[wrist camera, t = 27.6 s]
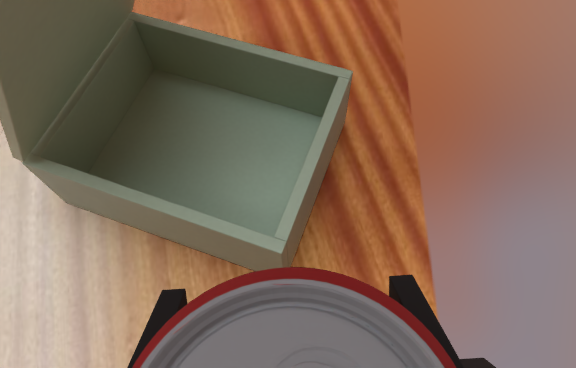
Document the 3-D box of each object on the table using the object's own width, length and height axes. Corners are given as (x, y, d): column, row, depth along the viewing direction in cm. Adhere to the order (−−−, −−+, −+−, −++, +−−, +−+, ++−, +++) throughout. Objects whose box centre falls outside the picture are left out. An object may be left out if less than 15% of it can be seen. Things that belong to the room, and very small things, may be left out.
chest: (345, 121, 42) (353, 70, 36) (284, 282, 35) (281, 254, 29) (153, 65, 45) (130, 11, 39) (65, 203, 39) (21, 163, 32)
